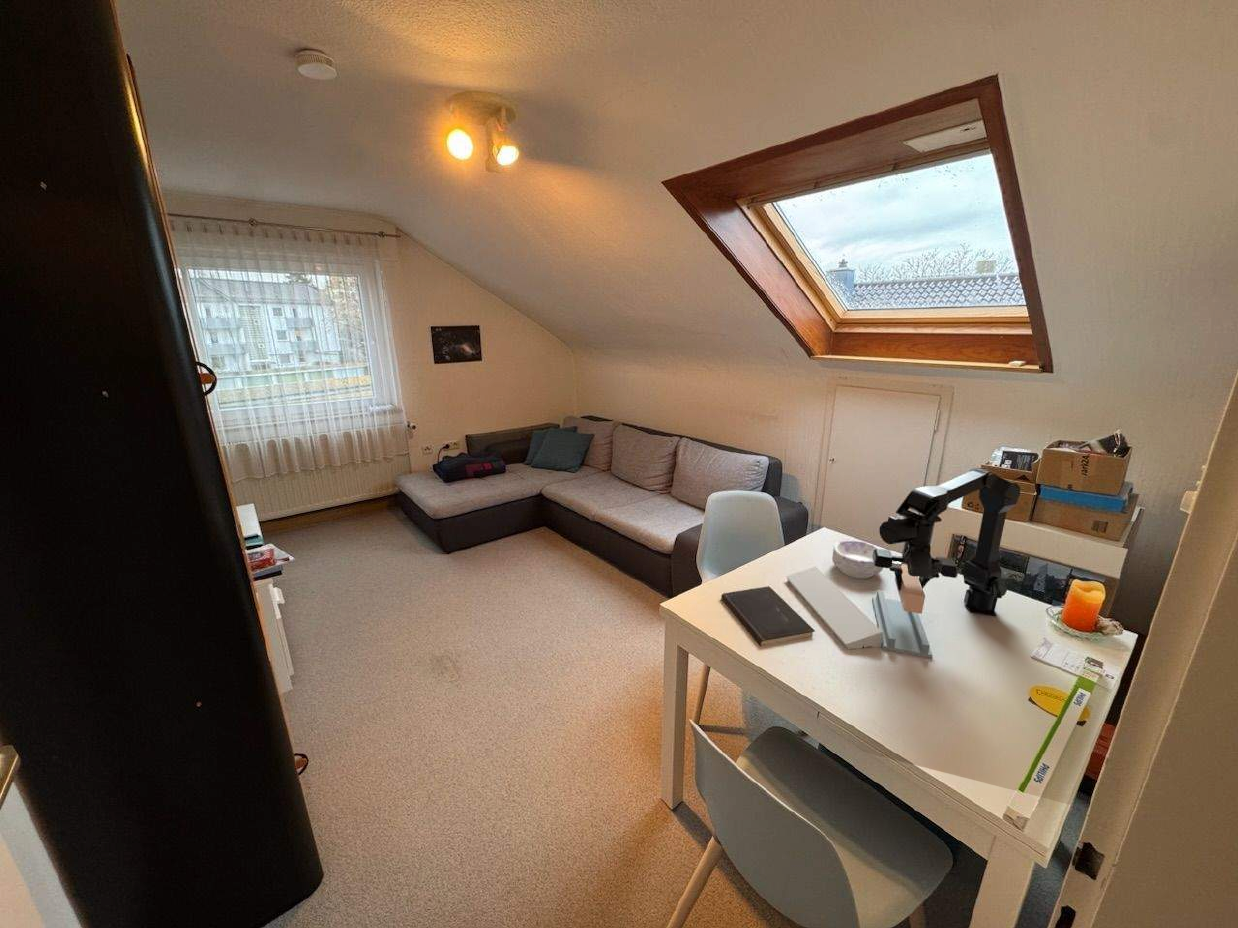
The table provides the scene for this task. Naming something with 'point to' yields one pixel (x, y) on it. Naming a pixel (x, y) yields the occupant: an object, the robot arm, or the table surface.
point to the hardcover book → (766, 615)
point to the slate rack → (900, 627)
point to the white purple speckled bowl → (855, 558)
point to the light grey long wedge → (836, 610)
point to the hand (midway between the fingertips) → (908, 591)
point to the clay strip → (911, 592)
